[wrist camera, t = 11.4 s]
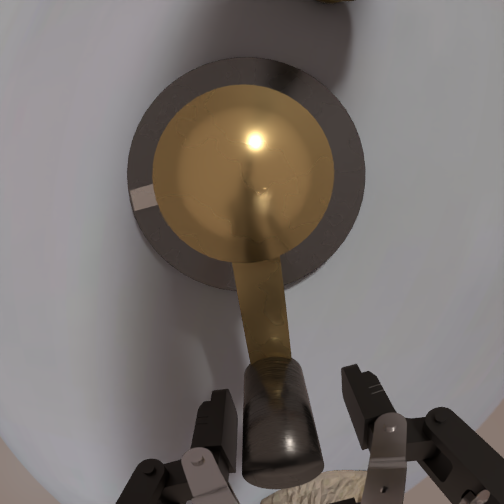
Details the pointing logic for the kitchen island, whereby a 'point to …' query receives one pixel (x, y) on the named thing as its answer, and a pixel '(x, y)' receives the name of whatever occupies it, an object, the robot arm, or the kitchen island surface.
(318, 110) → the post base
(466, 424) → the robot arm
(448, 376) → the kitchen island surface
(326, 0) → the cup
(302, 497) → the ceramic cottage
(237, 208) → the gold lever handle
